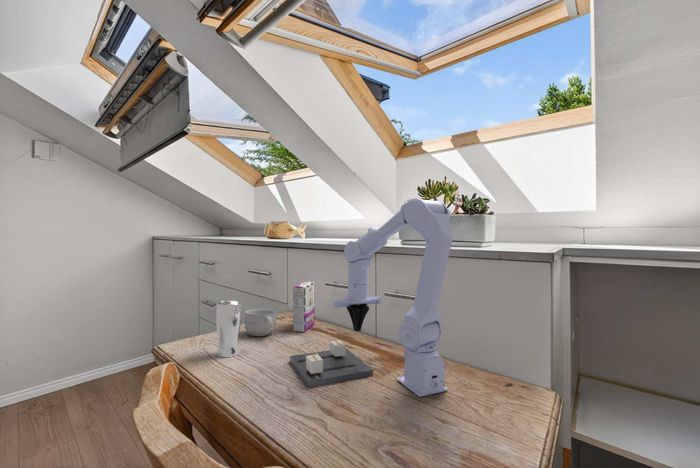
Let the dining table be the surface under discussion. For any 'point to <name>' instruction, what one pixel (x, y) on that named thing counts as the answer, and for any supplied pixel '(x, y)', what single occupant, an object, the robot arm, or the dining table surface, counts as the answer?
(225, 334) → the beer glass
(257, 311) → the teacup
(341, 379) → the fader console
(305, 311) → the candy bar box
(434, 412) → the dining table surface
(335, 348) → the fader far
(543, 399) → the dining table surface
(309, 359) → the fader near
